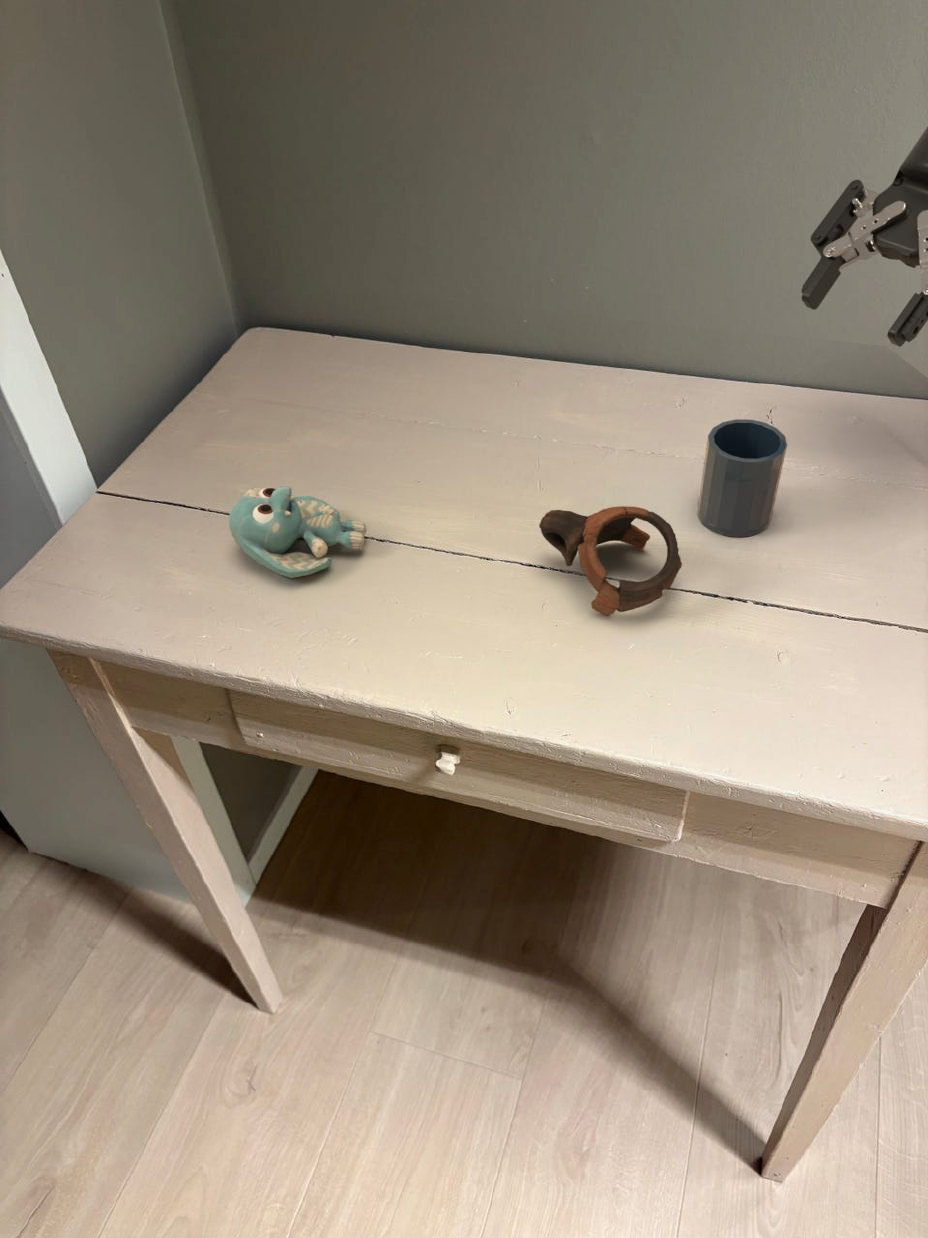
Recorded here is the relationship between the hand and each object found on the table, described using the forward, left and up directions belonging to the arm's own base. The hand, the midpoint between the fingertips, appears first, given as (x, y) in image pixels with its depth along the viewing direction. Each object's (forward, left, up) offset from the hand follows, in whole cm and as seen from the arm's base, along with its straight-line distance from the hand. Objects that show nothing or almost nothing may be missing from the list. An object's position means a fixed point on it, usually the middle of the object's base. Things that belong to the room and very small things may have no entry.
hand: (849, 322), depth 80 cm
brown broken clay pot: (+24, +7, -16) cm, 29 cm away
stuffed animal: (+48, -6, -15) cm, 51 cm away
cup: (+10, +3, -15) cm, 18 cm away
